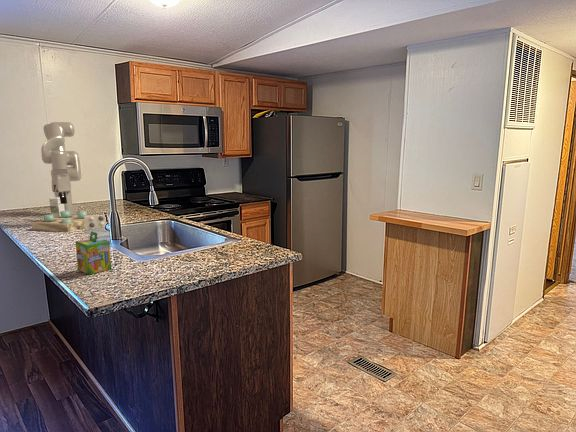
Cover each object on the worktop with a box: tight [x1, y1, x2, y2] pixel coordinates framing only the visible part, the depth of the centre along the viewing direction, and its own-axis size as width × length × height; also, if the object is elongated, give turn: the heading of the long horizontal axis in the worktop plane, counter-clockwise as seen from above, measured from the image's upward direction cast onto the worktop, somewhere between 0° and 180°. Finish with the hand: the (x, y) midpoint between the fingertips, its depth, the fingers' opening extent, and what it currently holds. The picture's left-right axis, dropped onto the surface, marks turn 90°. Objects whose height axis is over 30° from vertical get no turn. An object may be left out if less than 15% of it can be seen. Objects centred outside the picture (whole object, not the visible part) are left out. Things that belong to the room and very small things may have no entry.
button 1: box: [43, 213, 54, 222], centre depth 230 cm, size 5×5×4 cm
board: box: [31, 214, 85, 233], centre depth 235 cm, size 24×24×4 cm
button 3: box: [61, 219, 71, 223], centre depth 227 cm, size 5×5×4 cm
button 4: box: [76, 210, 88, 219], centre depth 238 cm, size 5×5×4 cm
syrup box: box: [48, 196, 65, 217], centre depth 252 cm, size 6×6×14 cm
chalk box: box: [75, 231, 112, 276], centre depth 154 cm, size 9×9×15 cm
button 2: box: [60, 211, 70, 218], centre depth 241 cm, size 5×5×4 cm
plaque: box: [84, 214, 107, 230], centre depth 230 cm, size 1×12×7 cm, turn 115°
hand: (63, 203), depth 239 cm, fingers closed
